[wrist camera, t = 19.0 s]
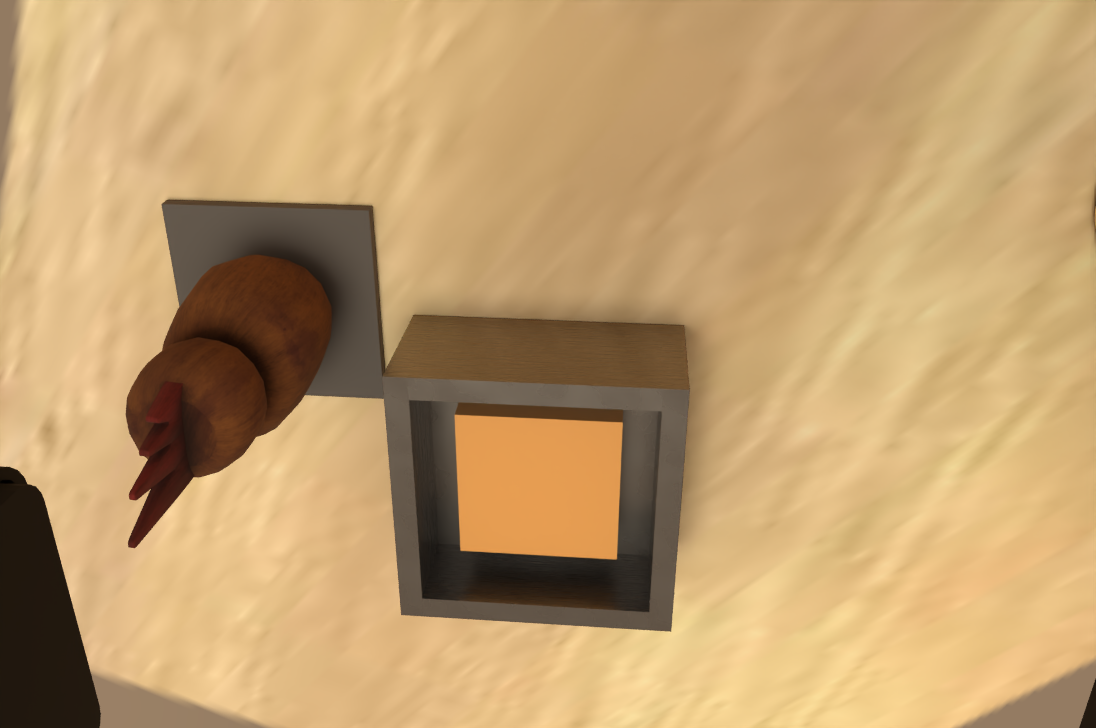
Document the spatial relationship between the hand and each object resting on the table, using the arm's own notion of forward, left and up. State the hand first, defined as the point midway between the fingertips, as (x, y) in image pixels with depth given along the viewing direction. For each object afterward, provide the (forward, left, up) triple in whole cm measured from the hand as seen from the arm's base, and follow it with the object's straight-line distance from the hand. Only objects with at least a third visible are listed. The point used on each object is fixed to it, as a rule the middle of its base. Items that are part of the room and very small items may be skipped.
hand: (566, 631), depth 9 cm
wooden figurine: (+15, +12, -33) cm, 38 cm away
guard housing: (+3, +18, -33) cm, 38 cm away
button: (+3, +18, -30) cm, 36 cm away
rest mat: (+15, +12, -33) cm, 38 cm away
